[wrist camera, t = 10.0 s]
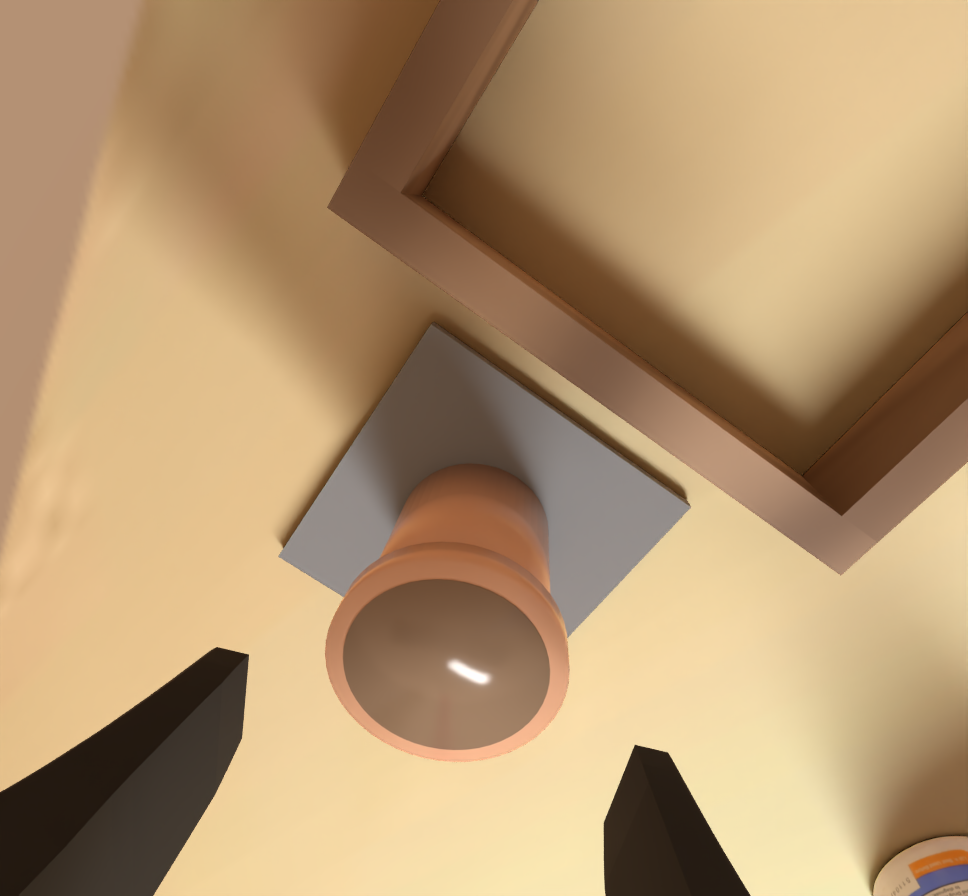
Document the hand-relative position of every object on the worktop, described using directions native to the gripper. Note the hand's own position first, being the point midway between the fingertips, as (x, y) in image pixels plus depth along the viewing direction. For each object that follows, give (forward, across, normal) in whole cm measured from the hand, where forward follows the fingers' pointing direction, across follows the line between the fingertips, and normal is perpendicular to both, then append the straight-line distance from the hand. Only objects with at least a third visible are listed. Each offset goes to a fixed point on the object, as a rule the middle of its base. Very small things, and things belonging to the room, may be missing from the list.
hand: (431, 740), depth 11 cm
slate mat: (+8, 0, 0) cm, 8 cm away
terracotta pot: (+8, 0, 0) cm, 8 cm away
